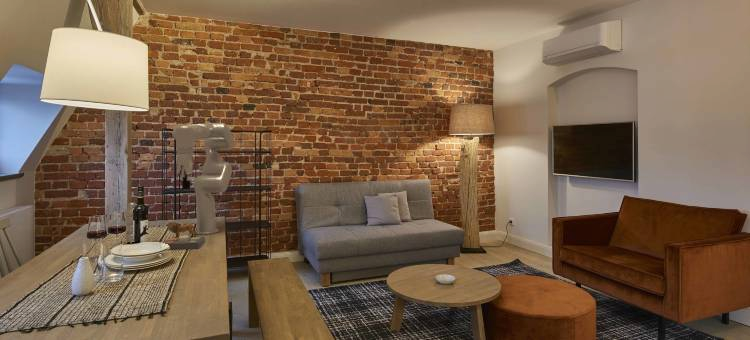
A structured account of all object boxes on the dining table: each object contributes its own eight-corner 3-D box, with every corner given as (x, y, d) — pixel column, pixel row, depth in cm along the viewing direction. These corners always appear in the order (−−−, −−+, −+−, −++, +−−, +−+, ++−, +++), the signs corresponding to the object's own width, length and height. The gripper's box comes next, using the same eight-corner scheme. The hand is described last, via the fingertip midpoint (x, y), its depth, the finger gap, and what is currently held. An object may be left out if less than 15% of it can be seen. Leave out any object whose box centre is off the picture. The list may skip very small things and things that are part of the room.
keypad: (169, 243, 207) (169, 237, 207) (204, 242, 209) (204, 236, 209) (161, 250, 195) (161, 243, 195) (198, 248, 197) (198, 242, 197)
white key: (181, 240, 205) (181, 235, 204) (189, 240, 205) (189, 235, 205) (178, 242, 201) (178, 237, 200) (187, 242, 201) (187, 237, 201)
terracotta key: (169, 242, 204) (169, 238, 204) (178, 242, 204) (178, 237, 204) (167, 244, 200) (166, 240, 200) (176, 244, 200) (175, 239, 200)
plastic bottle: (136, 244, 206) (134, 204, 204) (122, 244, 206) (120, 203, 204) (143, 241, 212) (142, 202, 211) (130, 241, 212) (128, 202, 211)
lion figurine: (168, 240, 215) (168, 222, 214) (167, 238, 219) (166, 221, 219) (199, 236, 223) (198, 219, 222) (197, 234, 227) (197, 218, 226)
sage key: (192, 242, 205) (192, 237, 205) (201, 241, 206) (201, 237, 206) (190, 244, 201) (190, 239, 201) (198, 243, 202) (198, 239, 202)
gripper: (181, 151, 213) (182, 187, 214) (171, 151, 198) (173, 190, 199) (197, 151, 214) (198, 186, 215) (188, 151, 199) (190, 190, 200)
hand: (186, 188), depth 207 cm, fingers closed
